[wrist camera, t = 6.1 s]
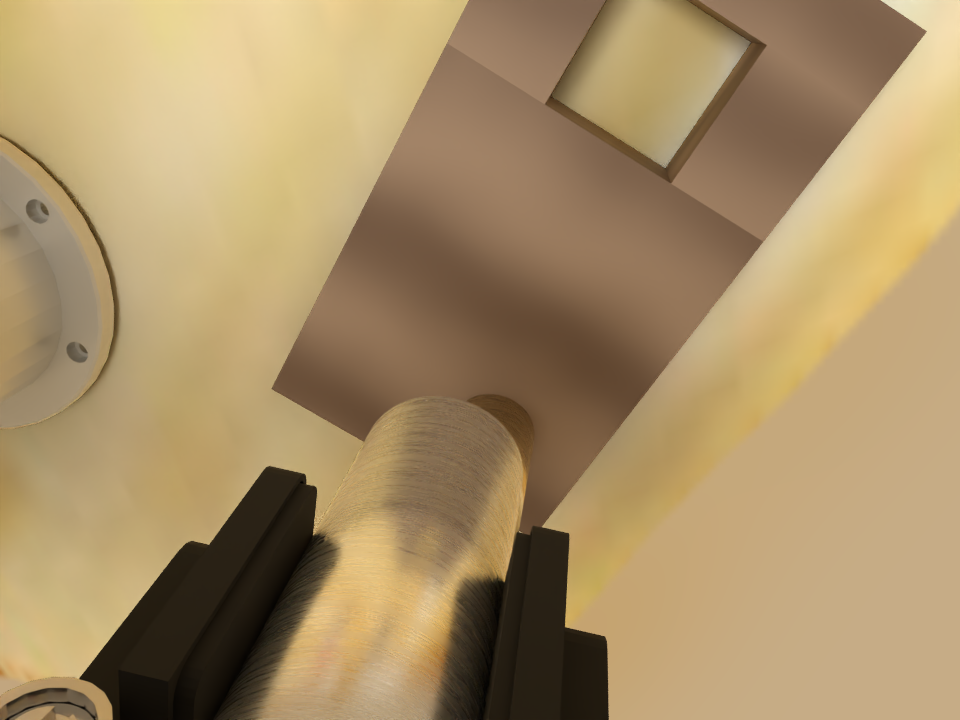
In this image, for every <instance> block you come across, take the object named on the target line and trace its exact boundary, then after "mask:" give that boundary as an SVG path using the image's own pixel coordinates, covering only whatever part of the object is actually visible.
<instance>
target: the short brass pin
mask: <svg viewBox="0 0 960 720" xmlns="http://www.w3.org/2000/svg"><path fill="white" fill-rule="evenodd" d="M466 402H469V403H471V404H474V405H476V406H478V407H480V408H482V409H483V410H485V411H487V412H488V413H490V414H491V415H492V416H493V417H495V418H496V419H497V420H498V421H499V422H500V423H501V424H502V425H503V426H504V427H505V428H506V429H507V431H508V432H509V433H510V434H511V436H512V438H513V439H514V441H515V443H516V445H517V447H518V449H519V452H520V455H521V459H522V464H523V483H522V489H521V496H520V502H519V508H518V515H517V521H516V528H515V534H514V540H515V536H516V533H517V532H519V527H520V521H521V515H522V509H523V503H524V497H525V491H526V486H527V480H528V474H529V468H530V462H531V456H532V450H533V444H534V438H535V432H534V426H533V423H532V420H531V418H530V416H529V415H528V413H527V412H526V411H525V410H524V409H523V408H522V407H521V406H520V405H519V404H518V403H516V402H515V401H513V400H511V399H509V398H507V397H504V396H501V395H495V394H483V395H478V396H475V397H472V398H470V399H468V400H466ZM513 544H514V541H513ZM512 548H513V547H512Z"/></svg>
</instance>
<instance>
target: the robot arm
mask: <svg viewBox="0 0 960 720" xmlns="http://www.w3.org/2000/svg"><path fill="white" fill-rule="evenodd" d="M113 331H114V302H113V296H112V290H111V284H110V278H109V274H108V271H107V269H106V266H105V263H104V260H103V257H102V254H101V251H100V248H99V246H98V244H97V242H96V240H95V238H94V236H93V234H92V233H91V231H90V229H89V227H88V225H87V223H86V221H85V219H84V218H83V216H82V215H81V213H80V212H79V210H78V209H77V208H76V206H75V205H74V204H73V202H72V201H71V200H70V198H69V197H68V196H67V194H66V193H65V192H64V190H63V189H62V188H61V187H60V186H59V185H58V184H57V183H56V182H55V181H54V179H53V178H52V177H51V176H50V175H49V174H48V173H47V172H46V171H45V170H44V169H43V168H42V167H41V166H40V165H39V164H38V163H37V162H35V161H34V160H33V159H31V158H30V157H29V156H27V155H26V154H25V153H23V152H22V151H21V150H19V149H18V148H17V147H15V146H14V145H13V144H11V143H10V142H9V141H7V140H5V139H3V138H1V137H0V429H11V428H20V427H24V426H28V425H32V424H37V423H40V422H42V421H44V420H46V419H48V418H50V417H52V416H54V415H56V414H58V413H60V412H61V411H63V410H64V409H65V408H67V407H68V406H70V405H71V404H72V403H74V402H75V401H76V400H78V399H79V398H80V397H81V396H82V395H83V394H84V393H85V392H86V391H87V390H88V389H89V388H90V386H91V385H92V384H93V383H94V382H95V381H96V380H97V378H98V376H99V374H100V372H101V370H102V368H103V366H104V364H105V362H106V360H107V358H108V354H109V350H110V346H111V342H112V338H113ZM316 498H317V489H316V487H315V486H311V485H306V476H305V474H302V473H298V472H293V471H289V470H284V469H280V468H275V467H271V466H269V467H266V468H265V469H264V471H263V472H262V473H261V475H260V476H259V477H258V479H257V480H256V481H255V483H254V484H253V486H252V487H251V488H250V490H249V491H248V492H247V494H246V495H245V497H244V498H243V499H242V501H241V502H240V503H239V505H238V506H237V508H236V509H235V510H234V512H233V513H232V514H231V516H230V517H229V518H228V520H227V521H226V523H225V524H224V525H223V527H222V528H221V529H220V531H219V532H218V534H217V535H216V536H215V538H214V539H213V540H212V542H211V543H210V544H209V545H207V544H203V543H199V542H194V541H190V542H188V543H186V544H185V545H184V546H183V547H182V548H181V549H180V550H179V551H178V553H177V554H176V555H175V556H174V558H173V559H172V560H171V562H170V563H169V564H168V565H167V567H166V568H165V569H164V570H163V572H162V573H161V574H160V576H159V577H158V578H157V579H156V581H155V582H154V583H153V585H152V586H151V587H150V588H149V590H148V591H147V592H146V594H145V595H144V596H143V597H142V599H141V600H140V601H139V603H138V604H137V605H136V606H135V608H134V609H133V610H132V612H131V613H130V614H129V615H128V617H127V618H126V619H125V621H124V622H123V623H122V624H121V626H120V627H119V628H118V630H117V631H116V632H115V633H114V635H113V636H112V637H111V639H110V640H109V641H108V642H107V644H106V645H105V646H104V648H103V649H102V650H101V651H100V653H99V654H98V655H97V657H96V658H95V659H94V660H93V662H92V663H91V664H90V665H89V667H88V668H87V669H86V671H85V672H84V673H83V674H82V676H81V677H80V678H79V679H77V678H71V677H50V678H45V679H40V680H35V681H30V682H28V683H25V684H23V685H20V686H18V687H16V688H13V689H11V690H8V691H7V692H5V693H4V694H2V695H1V696H0V720H213V719H214V717H215V716H216V714H217V712H218V710H219V708H220V706H221V704H222V703H223V701H224V699H225V697H226V695H227V693H228V692H229V690H230V688H231V686H232V684H233V682H234V681H235V679H236V677H237V675H238V673H239V671H240V669H241V668H242V666H243V664H244V662H245V660H246V658H247V657H248V655H249V653H250V651H251V649H252V647H253V646H254V644H255V642H256V640H257V638H258V636H259V635H260V633H261V631H262V629H263V627H264V625H265V623H266V622H267V620H268V618H269V616H270V614H271V612H272V611H273V609H274V607H275V605H276V603H277V601H278V600H279V598H280V596H281V594H282V592H283V590H284V588H285V587H286V585H287V583H288V581H289V579H290V577H291V576H292V574H293V572H294V570H295V568H296V566H297V565H298V563H299V561H300V559H301V557H302V555H303V553H304V552H305V550H306V548H307V546H308V544H309V542H310V541H311V539H312V537H313V528H314V518H315V508H316ZM568 554H569V533H564V532H560V531H556V530H551V529H547V528H542V527H538V526H532V529H531V532H530V535H528V534H524V533H519V532H517V533H516V536H515V540H514V544H513V548H512V553H511V557H510V561H509V565H508V570H507V574H506V578H505V582H504V588H503V595H502V601H501V607H500V613H499V619H498V626H497V632H496V638H495V644H494V650H493V657H492V663H491V669H490V675H489V681H488V688H487V694H486V700H485V706H484V712H483V719H482V720H609V716H608V715H609V714H608V661H607V659H608V658H607V641H606V638H605V637H604V636H600V635H596V634H592V633H587V632H583V631H579V630H575V629H570V628H566V627H565V613H566V593H567V574H568Z"/></svg>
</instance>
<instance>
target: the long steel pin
mask: <svg viewBox="0 0 960 720" xmlns="http://www.w3.org/2000/svg"><path fill="white" fill-rule="evenodd" d="M522 483H523V464H522V459H521V455H520V452H519V449H518V447H517V445H516V443H515V441H514V439H513V438H512V436H511V434H510V433H509V432H508V431H507V429H506V428H505V427H504V426H503V425H502V424H501V423H500V422H499V421H498V420H497V419H496V418H495V417H493V416H492V415H491V414H490V413H488V412H487V411H485V410H483V409H482V408H480V407H478V406H476V405H474V404H471V403H469V402H466V401H463V400H460V399H456V398H451V397H443V396H426V397H420V398H414V399H411V400H408V401H405V402H403V403H400V404H398V405H396V406H394V407H393V408H391V409H390V410H388V411H387V412H386V413H385V414H383V415H382V416H381V417H380V418H379V419H378V420H377V422H376V423H375V424H374V425H373V427H372V429H371V430H370V432H369V434H368V436H367V437H366V439H365V441H364V443H363V445H362V447H361V449H360V450H359V452H358V454H357V456H356V458H355V460H354V461H353V463H352V465H351V467H350V469H349V471H348V472H347V474H346V476H345V478H344V480H343V482H342V484H341V485H340V487H339V489H338V491H337V493H336V495H335V496H334V498H333V500H332V502H331V504H330V506H329V507H328V509H327V511H326V513H325V515H324V517H323V519H322V520H321V522H320V524H319V526H318V528H317V530H316V531H315V533H314V535H313V537H312V539H311V541H310V542H309V544H308V546H307V548H306V550H305V552H304V553H303V555H302V557H301V559H300V561H299V563H298V565H297V566H296V568H295V570H294V572H293V574H292V576H291V577H290V579H289V581H288V583H287V585H286V587H285V588H284V590H283V592H282V594H281V596H280V598H279V600H278V601H277V603H276V605H275V607H274V609H273V611H272V612H271V614H270V616H269V618H268V620H267V622H266V623H265V625H264V627H263V629H262V631H261V633H260V635H259V636H258V638H257V640H256V642H255V644H254V646H253V647H252V649H251V651H250V653H249V655H248V657H247V658H246V660H245V662H244V664H243V666H242V668H241V669H240V671H239V673H238V675H237V677H236V679H235V681H234V682H233V684H232V686H231V688H230V690H229V692H228V693H227V695H226V697H225V699H224V701H223V703H222V704H221V706H220V708H219V710H218V712H217V714H216V716H215V717H214V719H213V720H482V719H483V712H484V706H485V700H486V694H487V688H488V681H489V675H490V669H491V663H492V657H493V650H494V644H495V638H496V632H497V626H498V619H499V613H500V607H501V601H502V595H503V588H504V582H505V578H506V574H507V570H508V565H509V561H510V557H511V553H512V547H513V541H514V534H515V528H516V521H517V515H518V508H519V502H520V496H521V489H522Z"/></svg>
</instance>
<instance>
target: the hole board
mask: <svg viewBox="0 0 960 720" xmlns="http://www.w3.org/2000/svg"><path fill="white" fill-rule="evenodd" d="M688 1H689V2H691V3H692V4H694V5H695V6H697V7H698V8H700V9H701V10H703V11H704V12H706V13H708V14H709V15H711V16H712V17H714V18H715V19H717V20H718V21H720V22H721V23H723V24H724V25H726V26H727V27H729V28H731V29H732V30H734V31H735V32H737V33H738V34H740V35H741V36H743V37H744V38H746V39H747V40H749V41H750V42H752V43H751V44H750V46H749V47H748V48H747V50H746V51H745V53H744V54H743V56H742V57H741V59H740V60H739V62H738V63H737V65H736V66H735V68H734V69H733V70H732V72H731V73H730V75H729V76H728V78H727V79H726V81H725V82H724V84H723V85H722V87H721V88H720V90H719V91H718V92H717V94H716V95H715V97H714V98H713V100H712V101H711V103H710V104H709V106H708V107H707V109H706V110H705V111H704V113H703V114H702V116H701V117H700V119H699V120H698V122H697V123H696V125H695V126H694V128H693V129H692V131H691V132H690V133H689V135H688V136H687V138H686V139H685V141H684V142H683V144H682V145H681V147H680V148H679V150H678V151H677V153H676V154H675V155H674V157H673V158H672V160H671V161H670V163H669V164H668V166H667V167H666V169H665V168H664V167H662V166H660V165H659V164H657V163H656V162H654V161H652V160H651V159H649V158H648V157H646V156H644V155H643V154H641V153H640V152H638V151H636V150H635V149H633V148H632V147H630V146H629V145H627V144H625V143H624V142H622V141H621V140H619V139H617V138H616V137H614V136H613V135H611V134H609V133H608V132H606V131H605V130H603V129H602V128H600V127H598V126H597V125H595V124H594V123H592V122H590V121H589V120H587V119H586V118H584V117H582V116H581V115H579V114H578V113H576V112H574V111H573V110H571V109H570V108H568V107H567V106H565V105H563V104H562V103H560V102H559V101H557V100H555V99H554V98H552V97H551V94H552V93H553V91H554V89H555V88H556V86H557V84H558V82H559V81H560V79H561V77H562V76H563V74H564V72H565V70H566V69H567V67H568V65H569V64H570V62H571V60H572V58H573V57H574V55H575V53H576V52H577V50H578V48H579V47H580V45H581V43H582V41H583V40H584V38H585V36H586V35H587V33H588V31H589V29H590V28H591V26H592V24H593V23H594V21H595V19H596V17H597V16H598V14H599V12H600V11H601V9H602V7H603V5H604V4H605V2H606V0H469V1H468V3H467V5H466V7H465V9H464V11H463V13H462V15H461V17H460V19H459V21H458V23H457V25H456V27H455V29H454V31H453V33H452V35H451V36H450V38H449V40H448V42H447V44H446V46H445V48H444V50H443V52H442V54H441V56H440V58H439V60H438V62H437V64H436V66H435V68H434V70H433V72H432V74H431V76H430V78H429V80H428V82H427V84H426V86H425V88H424V90H423V92H422V94H421V96H420V98H419V100H418V101H417V103H416V105H415V107H414V109H413V111H412V113H411V115H410V117H409V119H408V121H407V123H406V125H405V127H404V129H403V131H402V133H401V135H400V137H399V139H398V141H397V143H396V145H395V147H394V149H393V151H392V153H391V155H390V157H389V159H388V161H387V163H386V164H385V166H384V168H383V170H382V172H381V174H380V176H379V178H378V180H377V182H376V184H375V186H374V188H373V190H372V192H371V194H370V196H369V198H368V200H367V202H366V204H365V206H364V208H363V210H362V212H361V214H360V216H359V218H358V220H357V222H356V224H355V226H354V227H353V229H352V231H351V233H350V235H349V237H348V239H347V241H346V243H345V245H344V247H343V249H342V251H341V253H340V255H339V257H338V259H337V261H336V263H335V265H334V267H333V269H332V271H331V273H330V275H329V277H328V279H327V281H326V283H325V285H324V287H323V289H322V291H321V292H320V294H319V296H318V298H317V300H316V302H315V304H314V306H313V308H312V310H311V312H310V314H309V316H308V318H307V320H306V322H305V324H304V326H303V328H302V330H301V332H300V334H299V336H298V338H297V340H296V342H295V344H294V346H293V348H292V350H291V352H290V354H289V355H288V357H287V359H286V361H285V363H284V365H283V367H282V369H281V371H280V373H279V375H278V377H277V379H276V381H275V383H274V385H273V387H272V389H273V390H274V391H276V392H278V393H280V394H281V395H283V396H285V397H287V398H288V399H290V400H292V401H294V402H295V403H297V404H299V405H301V406H302V407H304V408H306V409H308V410H309V411H311V412H313V413H315V414H316V415H318V416H320V417H322V418H323V419H325V420H327V421H329V422H330V423H332V424H334V425H336V426H337V427H339V428H341V429H343V430H344V431H346V432H348V433H350V434H351V435H353V436H355V437H357V438H358V439H360V440H362V441H365V439H366V437H367V436H368V434H369V432H370V430H371V429H372V427H373V425H374V424H375V423H376V422H377V420H378V419H379V418H380V417H381V416H382V415H383V414H385V413H386V412H387V411H388V410H390V409H391V408H393V407H394V406H396V405H398V404H400V403H403V402H405V401H408V400H411V399H414V398H420V397H426V396H443V397H451V398H456V399H460V400H463V401H466V400H468V399H470V398H472V397H475V396H478V395H483V394H495V395H501V396H504V397H507V398H509V399H511V400H513V401H515V402H516V403H518V404H519V405H520V406H521V407H522V408H523V409H524V410H525V411H526V412H527V413H528V415H529V416H530V418H531V420H532V423H533V426H534V432H535V438H534V444H533V450H532V456H531V462H530V468H529V474H528V480H527V486H526V491H525V497H524V503H523V509H522V515H521V521H520V527H519V531H521V532H523V533H524V534H528V535H530V532H531V529H532V526H538V527H542V525H543V524H544V523H545V522H546V520H547V519H548V518H549V516H550V515H551V514H552V513H553V511H554V510H555V509H556V508H557V506H558V505H559V504H560V502H561V501H562V500H563V499H564V497H565V496H566V495H567V493H568V492H569V491H570V490H571V488H572V487H573V486H574V484H575V483H576V482H577V481H578V479H579V478H580V477H581V475H582V474H583V473H584V472H585V470H586V469H587V468H588V466H589V465H590V464H591V463H592V461H593V460H594V459H595V457H596V456H597V455H598V454H599V452H600V451H601V450H602V448H603V447H604V446H605V445H606V443H607V442H608V441H609V439H610V438H611V437H612V436H613V434H614V433H615V432H616V430H617V429H618V428H619V427H620V425H621V424H622V423H623V421H624V420H625V419H626V418H627V416H628V415H629V414H630V412H631V411H632V410H633V409H634V407H635V406H636V405H637V403H638V402H639V401H640V400H641V398H642V397H643V396H644V394H645V393H646V392H647V391H648V389H649V388H650V387H651V385H652V384H653V383H654V382H655V380H656V379H657V378H658V376H659V375H660V374H661V373H662V371H663V370H664V369H665V367H666V366H667V365H668V364H669V362H670V361H671V360H672V358H673V357H674V356H675V355H676V353H677V352H678V351H679V349H680V348H681V347H682V346H683V344H684V343H685V342H686V340H687V339H688V338H689V337H690V335H691V334H692V333H693V331H694V330H695V329H696V328H697V326H698V325H699V324H700V322H701V321H702V320H703V319H704V317H705V316H706V315H707V313H708V312H709V311H710V310H711V308H712V307H713V306H714V304H715V303H716V302H717V301H718V299H719V298H720V297H721V295H722V294H723V293H724V292H725V290H726V289H727V288H728V286H729V285H730V284H731V283H732V281H733V280H734V279H735V277H736V276H737V275H738V274H739V272H740V271H741V270H742V268H743V267H744V266H745V265H746V263H747V262H748V261H749V259H750V258H751V257H752V256H753V254H754V253H755V252H756V250H757V249H758V248H759V247H760V245H761V244H762V243H763V241H764V240H765V239H766V238H767V236H768V235H769V234H770V232H771V231H772V230H773V229H774V227H775V226H776V225H777V223H778V222H779V221H780V220H781V218H782V217H783V216H784V214H785V213H786V212H787V211H788V209H789V208H790V207H791V205H792V204H793V203H794V202H795V200H796V199H797V198H798V196H799V195H800V194H801V193H802V191H803V190H804V189H805V187H806V186H807V185H808V184H809V182H810V181H811V180H812V178H813V177H814V176H815V175H816V173H817V172H818V171H819V169H820V168H821V167H822V166H823V164H824V163H825V162H826V160H827V159H828V158H829V157H830V155H831V154H832V153H833V151H834V150H835V149H836V148H837V146H838V145H839V144H840V142H841V141H842V140H843V139H844V137H845V136H846V135H847V133H848V132H849V131H850V130H851V128H852V127H853V126H854V124H855V123H856V122H857V121H858V119H859V118H860V117H861V115H862V114H863V113H864V112H865V110H866V109H867V108H868V106H869V105H870V104H871V103H872V101H873V100H874V99H875V97H876V96H877V95H878V94H879V92H880V91H881V90H882V88H883V87H884V86H885V85H886V83H887V82H888V81H889V79H890V78H891V77H892V76H893V74H894V73H895V72H896V70H897V69H898V68H899V67H900V65H901V64H902V63H903V61H904V60H905V59H906V58H907V56H908V55H909V54H910V52H911V51H912V50H913V49H914V47H915V46H916V45H917V43H918V42H919V41H920V40H921V38H922V37H923V36H924V34H925V33H926V32H927V31H925V30H924V29H922V28H921V27H919V26H918V25H916V24H915V23H913V22H912V21H910V20H909V19H907V18H906V17H904V16H903V15H901V14H900V13H898V12H897V11H895V10H894V9H892V8H891V7H889V6H888V5H886V4H885V3H883V2H882V1H880V0H688Z"/></svg>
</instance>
